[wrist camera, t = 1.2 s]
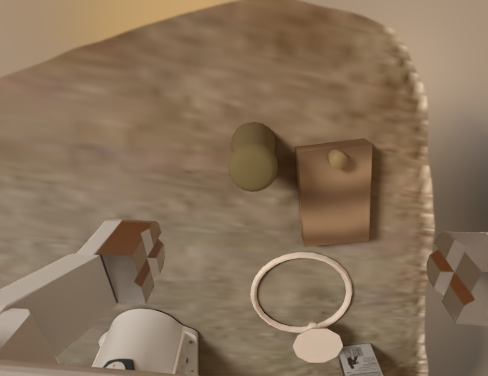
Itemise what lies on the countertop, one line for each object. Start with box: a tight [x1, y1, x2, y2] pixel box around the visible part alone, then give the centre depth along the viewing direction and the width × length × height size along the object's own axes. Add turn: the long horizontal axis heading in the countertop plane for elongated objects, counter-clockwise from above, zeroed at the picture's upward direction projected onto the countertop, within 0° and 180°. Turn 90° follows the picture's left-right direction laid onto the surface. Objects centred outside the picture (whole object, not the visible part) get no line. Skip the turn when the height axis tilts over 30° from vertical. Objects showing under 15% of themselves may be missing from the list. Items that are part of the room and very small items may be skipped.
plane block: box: [295, 139, 372, 247], centre depth 39 cm, size 14×9×5 cm, turn 8°
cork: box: [228, 122, 278, 192], centre depth 34 cm, size 6×6×11 cm
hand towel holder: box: [251, 252, 352, 362], centre depth 47 cm, size 17×4×21 cm
